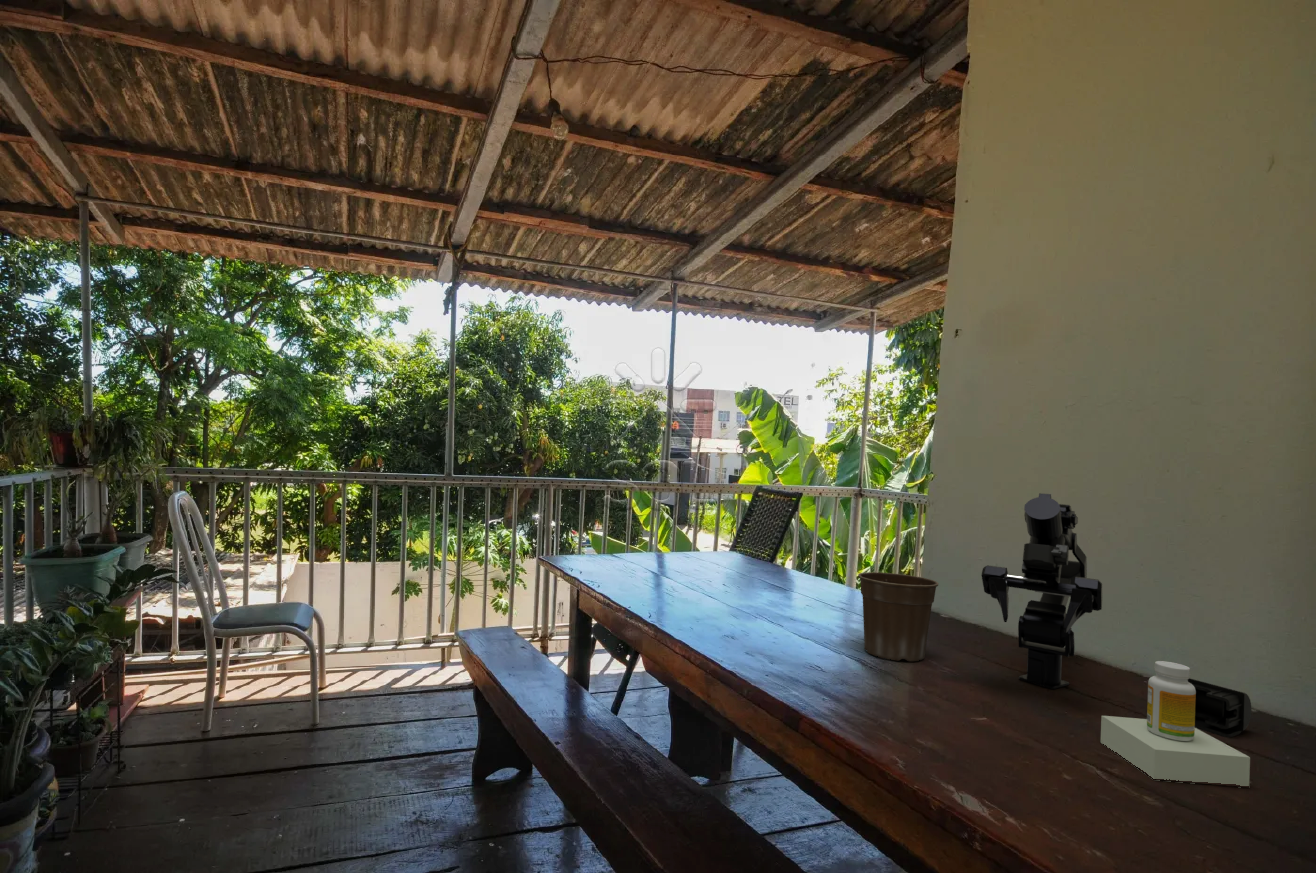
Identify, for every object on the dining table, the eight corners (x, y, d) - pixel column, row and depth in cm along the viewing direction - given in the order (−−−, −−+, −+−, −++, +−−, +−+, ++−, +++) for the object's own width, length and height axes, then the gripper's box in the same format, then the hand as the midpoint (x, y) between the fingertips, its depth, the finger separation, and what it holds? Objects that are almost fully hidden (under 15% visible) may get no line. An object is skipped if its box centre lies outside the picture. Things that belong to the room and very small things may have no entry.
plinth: (1100, 742, 102) (1101, 715, 102) (1184, 749, 101) (1184, 722, 101) (1153, 779, 90) (1154, 749, 90) (1249, 788, 89) (1250, 757, 89)
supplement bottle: (1204, 741, 94) (1206, 670, 94) (1173, 742, 93) (1175, 670, 93) (1167, 726, 99) (1169, 659, 99) (1137, 727, 98) (1139, 659, 98)
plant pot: (868, 639, 156) (872, 568, 157) (943, 654, 147) (946, 579, 147) (843, 653, 143) (847, 576, 143) (923, 671, 133) (927, 588, 134)
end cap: (1251, 733, 110) (1252, 690, 110) (1232, 739, 107) (1233, 696, 107) (1179, 711, 119) (1180, 672, 119) (1159, 716, 115) (1160, 676, 115)
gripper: (985, 521, 128) (970, 588, 119) (1104, 533, 117) (1097, 607, 108) (991, 560, 134) (977, 625, 125) (1104, 574, 123) (1098, 647, 114)
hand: (1034, 625), depth 118 cm, fingers open, 9 cm apart
